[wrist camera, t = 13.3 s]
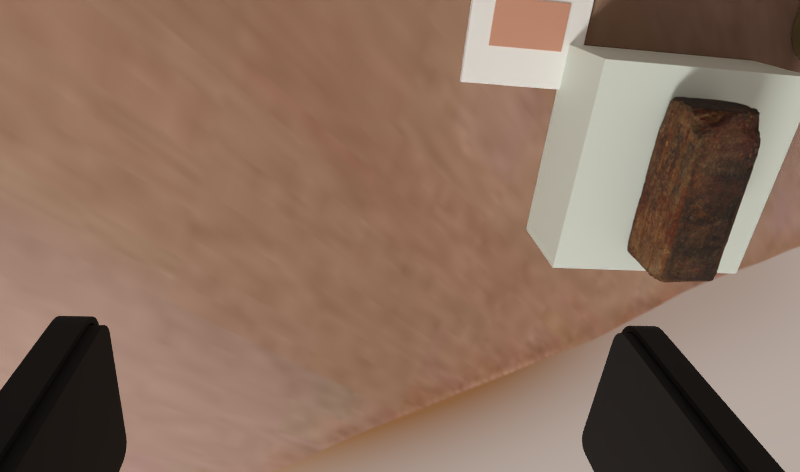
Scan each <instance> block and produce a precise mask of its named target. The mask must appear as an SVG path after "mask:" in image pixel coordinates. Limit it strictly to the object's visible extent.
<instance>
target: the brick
mask: <svg viewBox="0 0 800 472" xmlns="http://www.w3.org/2000/svg"><path fill="white" fill-rule="evenodd" d="M759 115H760V113H759V112H758V110H757V109H755V108H750V107H749V106H747V105H744V104H740V103H736V102H729V101H723V100H714V99H702V98H687V97H674V98H673V99H672V100H671V101H670V103H669V105H668V108H667V111H666V114H665V117H664V119H663V122H662V124H661V126H660V129H659V131H658V135H657V138H656V142H655V146H654V149H653V152H652V156H651V159H650V163H649V166H648V170H647V174H646V179H645V183H644V185H643V189H642V194H641V197H640V199H639V203H638V206H637V209H636V213H635V217H634V220H633V224H632V229H631V233H630V236H629V240H628V246H627V251H628V253H630V255H631V256H632V257H633V258H635V259H636V261H637V262H638V263H639V264H640V265H641V266H642V267H643V268H644V269H645V270H646V271H647V272H648V273H649V275H650V276H653V277H654V278H655V279H658V280H659V281H662V282H685V281H712V280H713V278H714V276H715V275H716V273H717V270H718V267H719V264H720V261H721V258H722V255H723V252H724V249H725V246H726V244H727V242H728V239H729V236H730V233H731V230H732V227H733V224H734V222H735V219H736V216H737V213H738V210H739V207H740V204H741V201H742V199H743V196H744V193H745V190H746V187H747V184H748V182H749V179H750V176H751V173H752V170H753V167H754V164H755V161H756V158H757V156H758V151H759V147H760V141H761V138H760V132H759Z"/></svg>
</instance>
